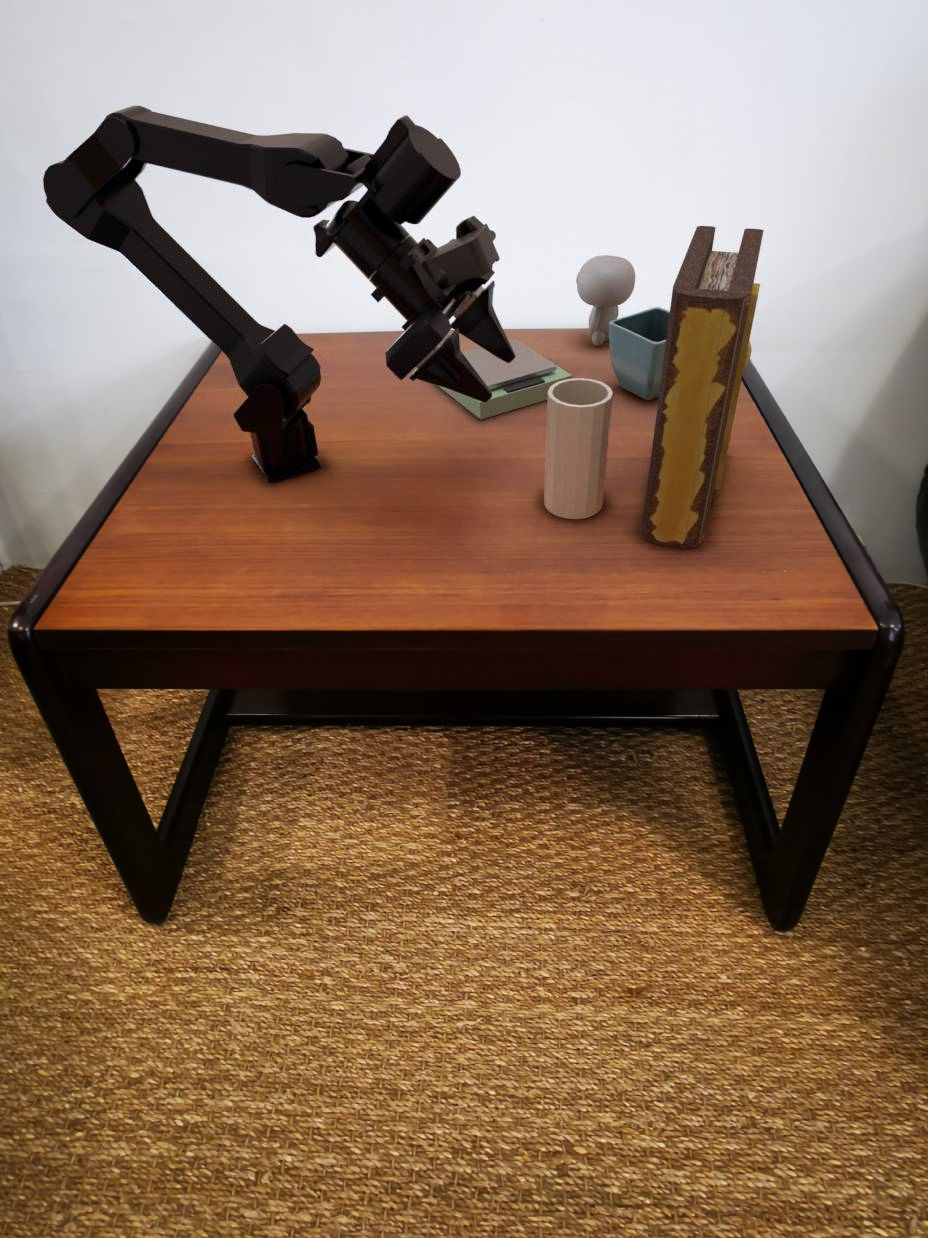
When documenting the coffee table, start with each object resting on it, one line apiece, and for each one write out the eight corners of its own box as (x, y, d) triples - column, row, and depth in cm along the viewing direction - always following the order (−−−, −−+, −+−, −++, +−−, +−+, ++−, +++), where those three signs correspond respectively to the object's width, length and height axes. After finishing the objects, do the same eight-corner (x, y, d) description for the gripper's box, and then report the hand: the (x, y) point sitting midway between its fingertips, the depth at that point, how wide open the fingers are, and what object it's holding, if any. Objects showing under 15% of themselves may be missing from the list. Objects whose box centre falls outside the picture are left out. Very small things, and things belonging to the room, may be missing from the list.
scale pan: (484, 390, 105) (484, 386, 104) (443, 360, 112) (443, 356, 112) (556, 370, 109) (556, 366, 108) (512, 342, 116) (512, 337, 116)
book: (712, 553, 82) (763, 301, 66) (627, 539, 85) (656, 293, 68) (731, 446, 98) (777, 221, 82) (659, 437, 100) (689, 216, 84)
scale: (480, 419, 105) (479, 399, 103) (429, 379, 115) (428, 360, 113) (571, 392, 110) (572, 372, 108) (515, 356, 120) (515, 337, 118)
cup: (565, 525, 87) (572, 412, 78) (533, 498, 91) (536, 387, 83) (614, 508, 89) (625, 396, 81) (580, 481, 93) (587, 372, 85)
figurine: (593, 328, 126) (599, 245, 118) (637, 339, 123) (646, 254, 115) (564, 346, 122) (568, 261, 114) (609, 358, 118) (616, 271, 110)
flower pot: (696, 392, 109) (707, 325, 103) (647, 412, 105) (656, 343, 99) (649, 370, 115) (657, 305, 109) (601, 387, 111) (606, 321, 105)
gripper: (409, 226, 67) (537, 369, 72) (473, 169, 80) (578, 293, 85) (332, 315, 74) (454, 440, 79) (403, 249, 87) (503, 359, 92)
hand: (501, 378), depth 83 cm, fingers open, 9 cm apart
